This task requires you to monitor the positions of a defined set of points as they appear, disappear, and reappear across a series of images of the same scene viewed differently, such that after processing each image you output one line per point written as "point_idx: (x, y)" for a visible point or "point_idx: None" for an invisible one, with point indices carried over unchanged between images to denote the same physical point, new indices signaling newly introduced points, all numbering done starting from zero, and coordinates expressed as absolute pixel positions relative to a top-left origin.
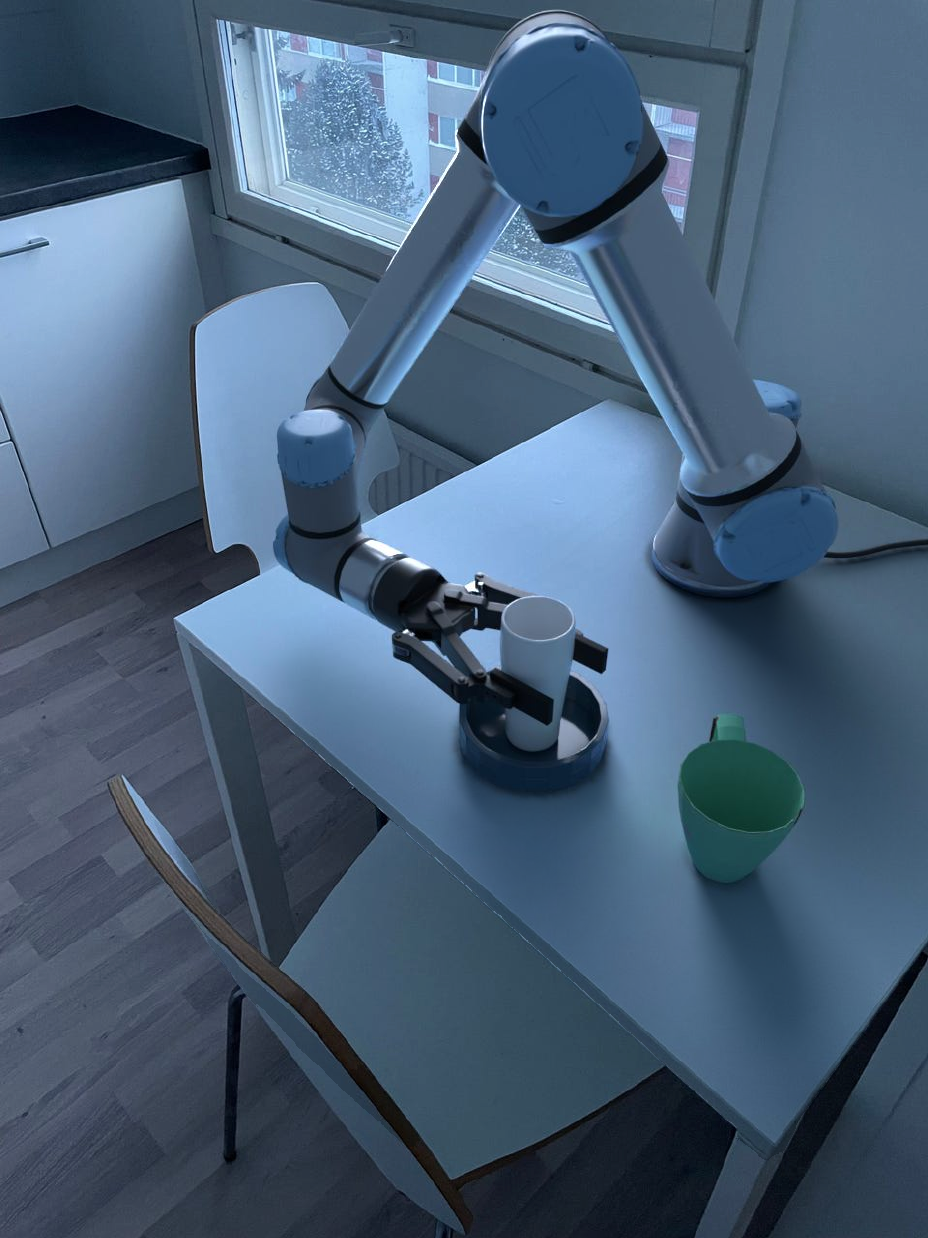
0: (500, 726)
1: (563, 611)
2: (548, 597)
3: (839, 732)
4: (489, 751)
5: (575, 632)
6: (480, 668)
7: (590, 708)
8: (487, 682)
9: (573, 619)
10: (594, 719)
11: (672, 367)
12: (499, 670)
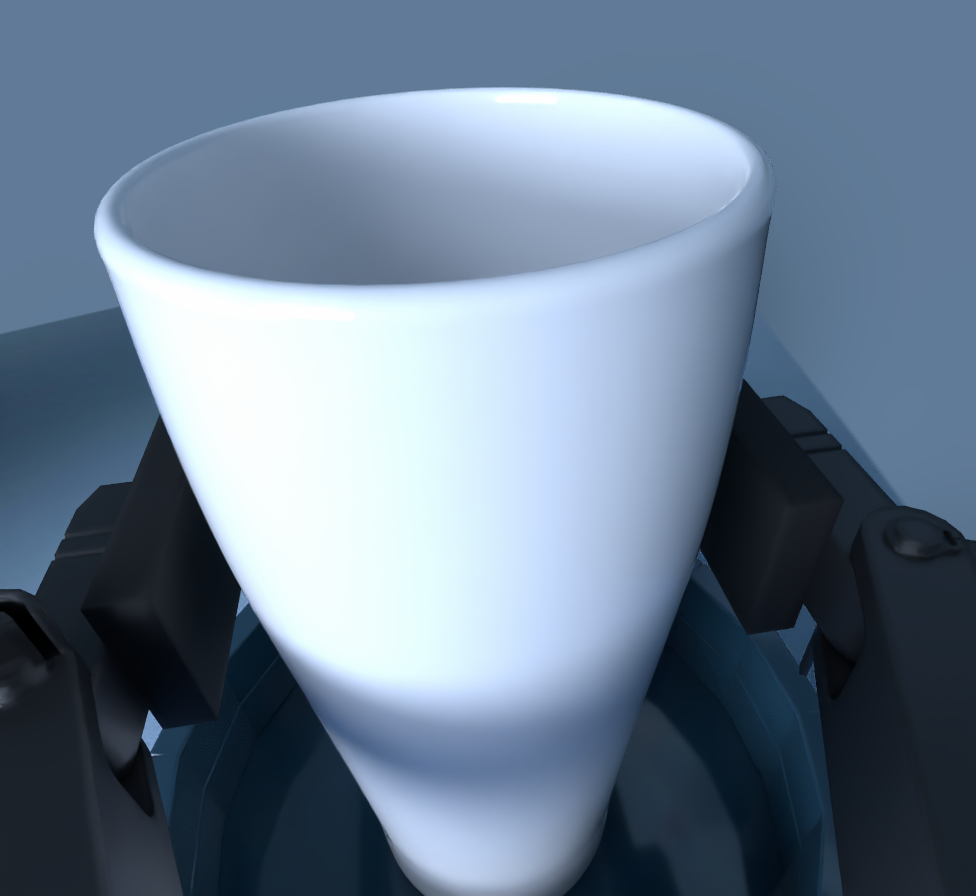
0: None
1: (182, 225)
2: (103, 219)
3: (22, 389)
4: (791, 682)
5: (144, 454)
6: (896, 568)
7: (255, 706)
8: (866, 514)
9: (281, 114)
10: (286, 682)
11: None
12: (774, 475)
